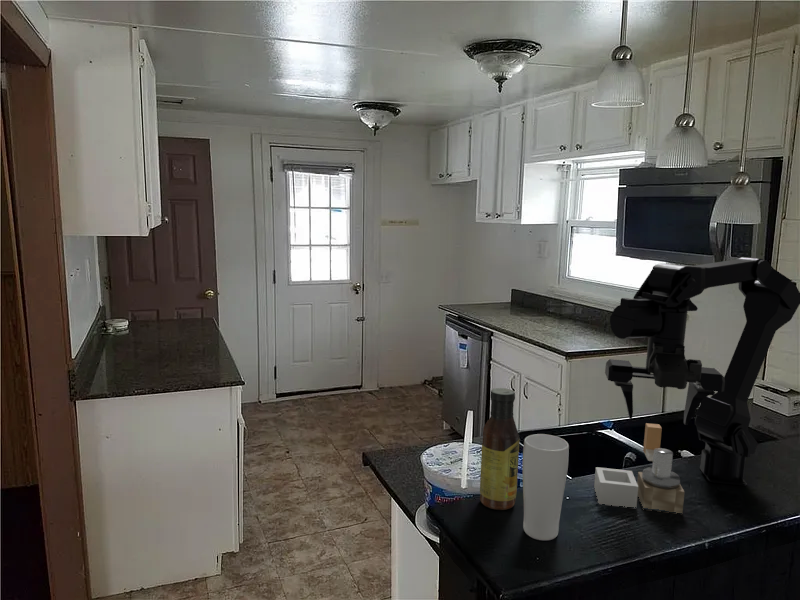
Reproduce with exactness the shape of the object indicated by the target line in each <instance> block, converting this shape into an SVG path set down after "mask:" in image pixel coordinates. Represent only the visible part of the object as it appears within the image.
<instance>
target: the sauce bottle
mask: <svg viewBox="0 0 800 600" xmlns="http://www.w3.org/2000/svg"><path fill="white" fill-rule="evenodd" d="M515 400H516V392H515V391H514V390H513V389H510V388H504V387H498V388H493V389H491V390H490V401H491V402H490V403H491V404H490V411H489V412H490V413H489V414H490V417H489V419H487V421H486V423H485V425H484V426H483V431H482V442H481V455H480V457H481V458H480V459H481V460H480V480H479V487H480V488H479V493H480V495H479V500H480V503H481V504H482V505H483V506H484V507H486V508H488V509H492V510H497V511H505V510H510V509H511V508H513V507H514V506H515V503H516V498H517V492H518V491H517V490H518V489H517V488H518V476H519V475H518V473H519V455H520V454H519V453H520V451H519V450H520V433H519V432H518V429H517V425H516V421H515V418H514V415H515V414H514V402H515Z"/></svg>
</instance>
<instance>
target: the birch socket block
mask: <svg viewBox="0 0 800 600" xmlns="http://www.w3.org/2000/svg"><path fill="white" fill-rule="evenodd" d="M642 472H643V471H638V472H637V479H636V480H637V481H636V482H637V485H638V496H637V498H638V497H639V498H638V500H639V499H640V500H639V502H641V503H640V505H641V504H642V505H641V507H642V506H643V508H648V509H659V510H665V511H669V512H676V513H675V514H677V513H682V514H683V511H684V500H685V489H683V486H682V485H681V484H680V486H679V487H678V488H677V489H672V490H667V489H660V488H656V487H653V486H650V485H648V484H646V483H645V482H644V481H643V480H642ZM643 508H642V509H643ZM669 512H668V513H669Z"/></svg>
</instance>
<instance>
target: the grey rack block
mask: <svg viewBox="0 0 800 600" xmlns="http://www.w3.org/2000/svg"><path fill="white" fill-rule="evenodd" d="M594 475H595V476H594V485H593V486H594V487H593V489H594V488H595V489H594V492H596V493H595V497H596V496H597V497H596V500H597V499H598V501H597V504H598V503H599V504H598V505H602V504H605V505H604V506H611V505H612V507H619V506H623V507H622V508H627V507H634V508H633V509H636V508H637V506H638V485H637V481H636V480H637V479H636V477H635V476H634V473H633V470H628V469H627V470H625V469H616V468H607V467H598V466H597V467H595V473H594ZM624 506H625V507H624ZM635 507H636V508H635Z"/></svg>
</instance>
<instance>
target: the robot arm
mask: <svg viewBox="0 0 800 600" xmlns="http://www.w3.org/2000/svg"><path fill="white" fill-rule="evenodd" d="M733 284H738V290H739V291H740V292H741V294H742V295H743V296H744V297H745V298H744V302H743V304H742V305H743V307H742V308H743V311H744V316H745V320H746V322H745V325H744V327H743V329H742V332H741V335H740V338H739V339H738V342H737V345H736V346H735V349H734V351H733V354H732V357H731V358H730V362H729V364H728V367H727V370H726V371H725V374H724V375H723V374H721V372H719V371H718V370H717V369H716V368H715V367H706V366H705V367H704V366H703V362H702V360H700V359H692V358H690V359H686V355H685V351H686V350H685V347H686V346H685V341H686V340H685V337H686V329H687V322H688V312H697V311H698V309H699V307H698V306H697V305H696V304H695V303H694V302H693V301H692V300H691V299H692V298H695V297H697V296H699V295H701V294H702V293H703V292H704V291H705V290H707V289H709V288H716V287H721V286H726V285H733ZM799 306H800V291H799V289H798V287H797V286H796V284H794V283H793V282H792V280H791V278H788V277H787V276H785V275H784V274H782V273H781V272H779V271H778V270H777V269H775V268H774V267H773V266H772V265H771V263H769V261H767V260H765V259H764V258H756V257H745V256H744V257H743V256H741V257H739V258H736V259H731V260H724V261H718V262H717V261H716V262H711V263H709V262H708V263H702V264H695V265H688V264H678V263H677V264H676V263H663V262H662V263H661V262H659V263H657V264H655V265H653V266H652V268H651V270H650V272H649V274H648V275H647V277H646V278H645V280H644V281H643V283H642V284H641V285H640V287H639V289H638V290H637V291H636V292H635V294H634V296H633V298H630V297H621V298H620V304H618V305H617V306H616V307H615V308H613V310H612V313H611V314H610V317H609V324H610V329H611V331H612V333H613V334H614V336H616V337H617V338H619V339H622V340H623V339H625V340H626V339H639V338H640V339H641V338H648V340H647V348H646V349H647V353H646V360H645V367H643V366H642V367H641V366H634V365H633V366H632V364H631V361H629V360H623V359H614V358H613V359H612V358H611V359H608V360H607V361H606V363H605V369H604V371H605V372H604V374H605V376H606V378H607V381H609V382H613V384H614V385H615V386H616V387H620V388H621V392H622V395H623V399H624V404H625V407H626V410H627V415H628V418H629V420H632V419H633V415H634V403H633V402H634V399H633V398H634V397H633V396H634V395H633V394H634V392H633V391H634V384H633V382H632V380H633V378H639V379H650V380H654V384H655V385H656V386H657V387H659V388H661V389H663V388H664V389H665V388H672V389H673V388H676V389H678V390H685V389H686V388H687V392H686V393H687V394H686V400H685V405H684V412H683V424H684V425H685V426H688V424H689V423H690V422H691V420H692V417H693V416H694V415H696V417H695V419H694V425H695V427H696V431H697V436H698V440H699V441H701V442H702V441H703V443H705V446H704V448H703V449H702V450H701V456H700V465H699V469H700V470H701V472H702V473H703V475H704V476H705V478H706V480H707V481H709V482H710V483H717V484H726V485H736V486H744V487H745V486H747V485H748V484H747V481H746V480H745V479H744V476H745V475H744V474H745V466H746V458H748V457H750V456H751V455H754V454H755V452H756V450H757V447H758V445H759V444H758V442H757V440H756V439H755V437H754V436H753V435H752V433H751V432H750V430H749V427H750V422H751V415H750V410H749V409H750V408H749V405H748V402H749V401H748V400H749V398H750V396H751V394H752V391H753V388H754V387H755V383H756V381H757V378H758V375H759V373H760V372H761V368H762V366H763V363H764V361H765V359H766V356H767V354H768V351H769V349H770V346H771V344H772V342H773V339H774V337H775V335H776V333H777V331H778V330H780V328H783V326H785V325H786V324H787V323H788V322H790V321H791V320H792V319H793V317H794V315H795V314H796V312H797V310H798V308H799ZM687 386H688V387H687ZM697 408H698V409H697Z"/></svg>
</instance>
